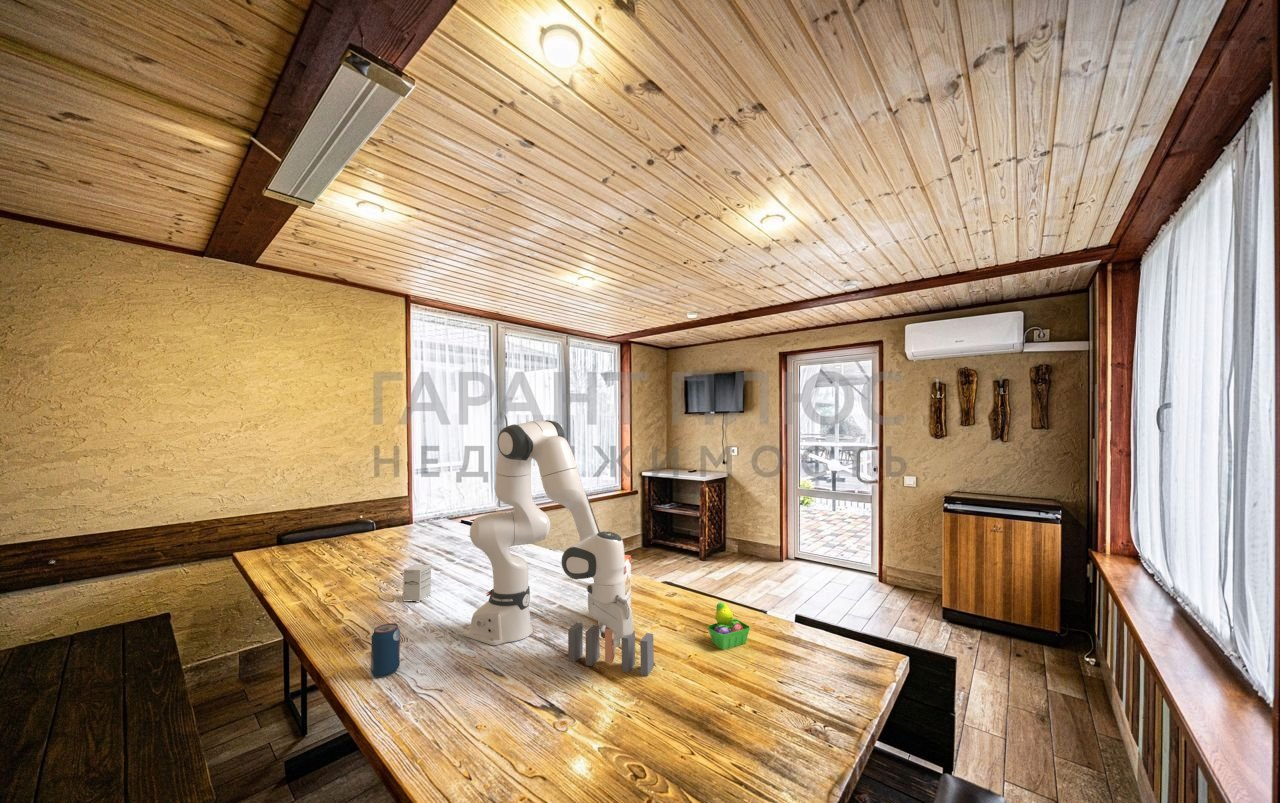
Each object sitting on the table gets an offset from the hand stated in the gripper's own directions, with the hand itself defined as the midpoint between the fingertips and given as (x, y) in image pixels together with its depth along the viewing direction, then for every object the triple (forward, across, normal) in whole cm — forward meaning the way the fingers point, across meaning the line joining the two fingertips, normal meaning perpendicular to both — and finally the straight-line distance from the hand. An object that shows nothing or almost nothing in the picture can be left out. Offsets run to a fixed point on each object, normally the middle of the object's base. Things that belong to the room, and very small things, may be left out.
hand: (610, 641), depth 131 cm
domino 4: (+6, -4, -4) cm, 8 cm away
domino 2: (+6, +5, +3) cm, 9 cm away
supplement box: (+6, +88, +38) cm, 96 cm away
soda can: (+6, +31, +53) cm, 62 cm away
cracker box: (+6, +24, -17) cm, 30 cm away
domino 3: (+5, 0, 0) cm, 5 cm away
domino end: (+6, -8, -7) cm, 13 cm away
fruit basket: (+7, -8, -37) cm, 38 cm away
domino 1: (+6, +9, +6) cm, 13 cm away
